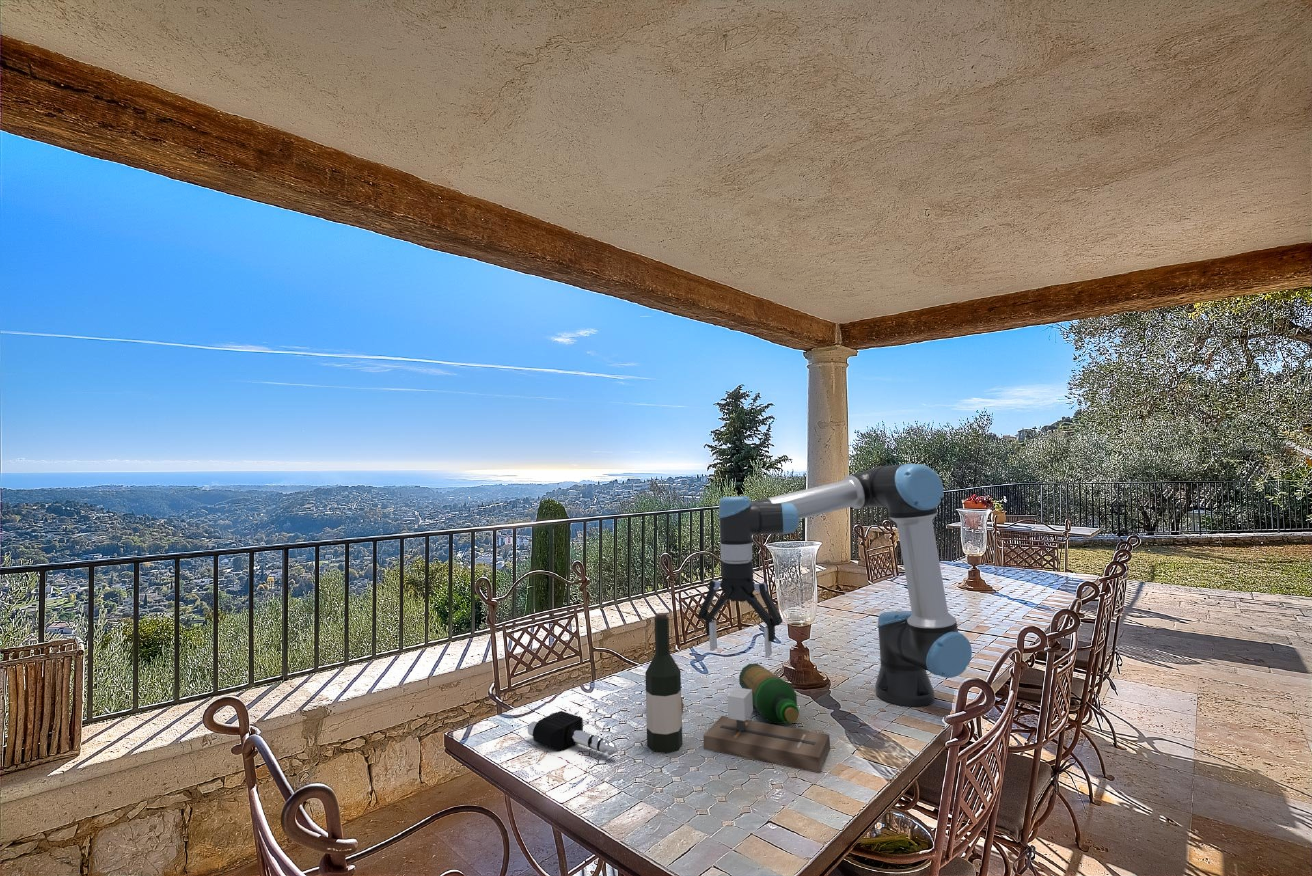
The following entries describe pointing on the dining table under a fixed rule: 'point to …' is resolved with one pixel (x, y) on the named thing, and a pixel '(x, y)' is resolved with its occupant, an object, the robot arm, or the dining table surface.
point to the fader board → (769, 743)
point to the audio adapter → (567, 733)
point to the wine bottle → (663, 694)
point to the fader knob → (740, 706)
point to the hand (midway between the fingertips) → (740, 652)
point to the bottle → (770, 694)
